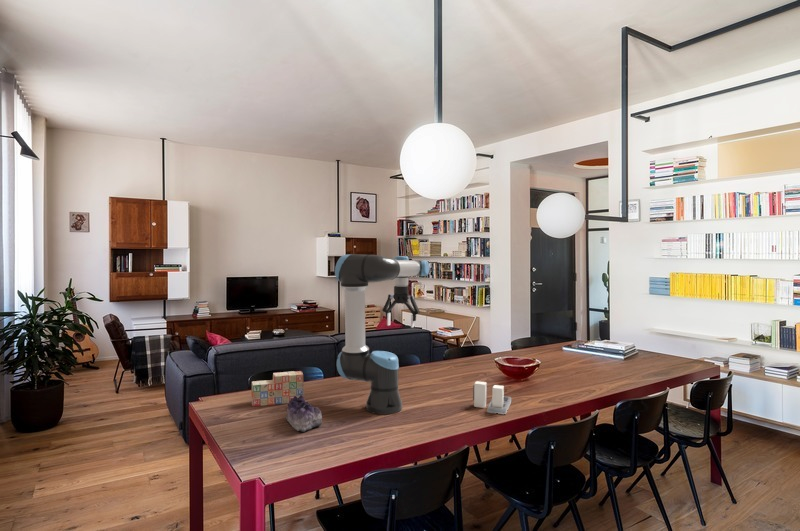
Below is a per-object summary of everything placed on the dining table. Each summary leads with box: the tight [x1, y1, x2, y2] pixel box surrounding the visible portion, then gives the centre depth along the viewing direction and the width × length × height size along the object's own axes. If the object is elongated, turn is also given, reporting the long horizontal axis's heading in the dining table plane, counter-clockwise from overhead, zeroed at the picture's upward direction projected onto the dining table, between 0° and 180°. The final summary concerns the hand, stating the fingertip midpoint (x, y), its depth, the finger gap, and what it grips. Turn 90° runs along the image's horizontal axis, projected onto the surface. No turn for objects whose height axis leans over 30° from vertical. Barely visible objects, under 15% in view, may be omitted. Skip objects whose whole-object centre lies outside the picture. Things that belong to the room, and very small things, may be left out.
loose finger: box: [472, 380, 488, 409], centre depth 203 cm, size 4×5×10 cm
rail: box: [486, 396, 512, 415], centre depth 202 cm, size 18×8×2 cm, turn 159°
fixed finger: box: [491, 384, 505, 408], centre depth 198 cm, size 4×5×10 cm
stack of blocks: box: [251, 370, 305, 407], centre depth 205 cm, size 21×6×12 cm, turn 111°
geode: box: [285, 395, 323, 433], centre depth 180 cm, size 20×12×10 cm, turn 35°
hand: (400, 326), depth 246 cm, fingers open, 13 cm apart
